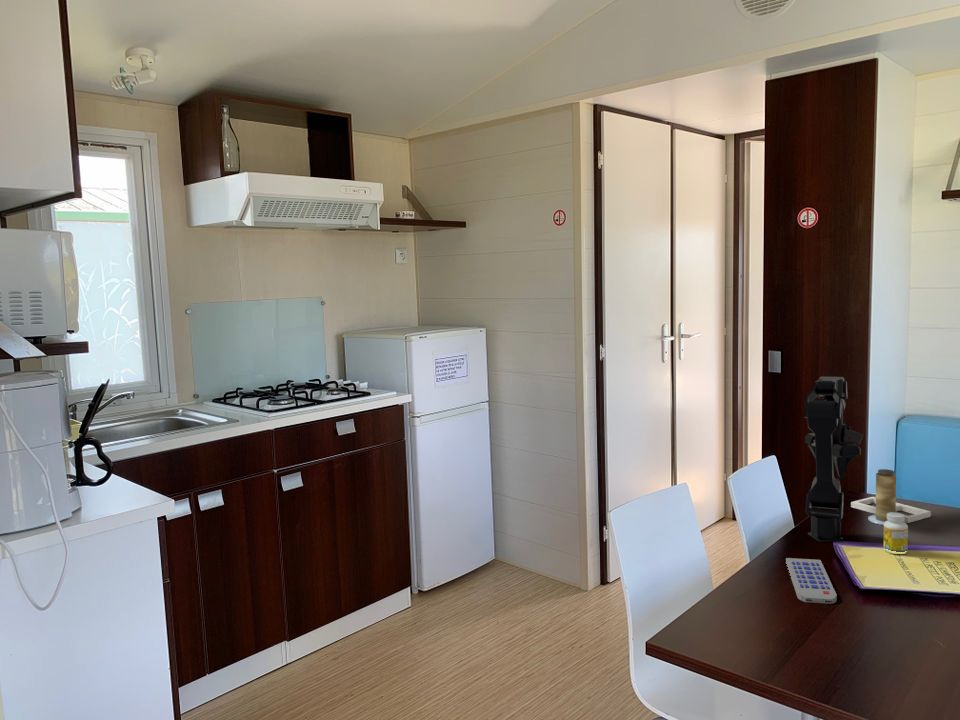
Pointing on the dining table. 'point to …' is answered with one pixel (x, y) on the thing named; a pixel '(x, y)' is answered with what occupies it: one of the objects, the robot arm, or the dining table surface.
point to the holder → (916, 512)
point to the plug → (885, 493)
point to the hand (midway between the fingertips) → (831, 473)
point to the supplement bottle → (895, 532)
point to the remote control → (811, 581)
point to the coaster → (873, 520)
